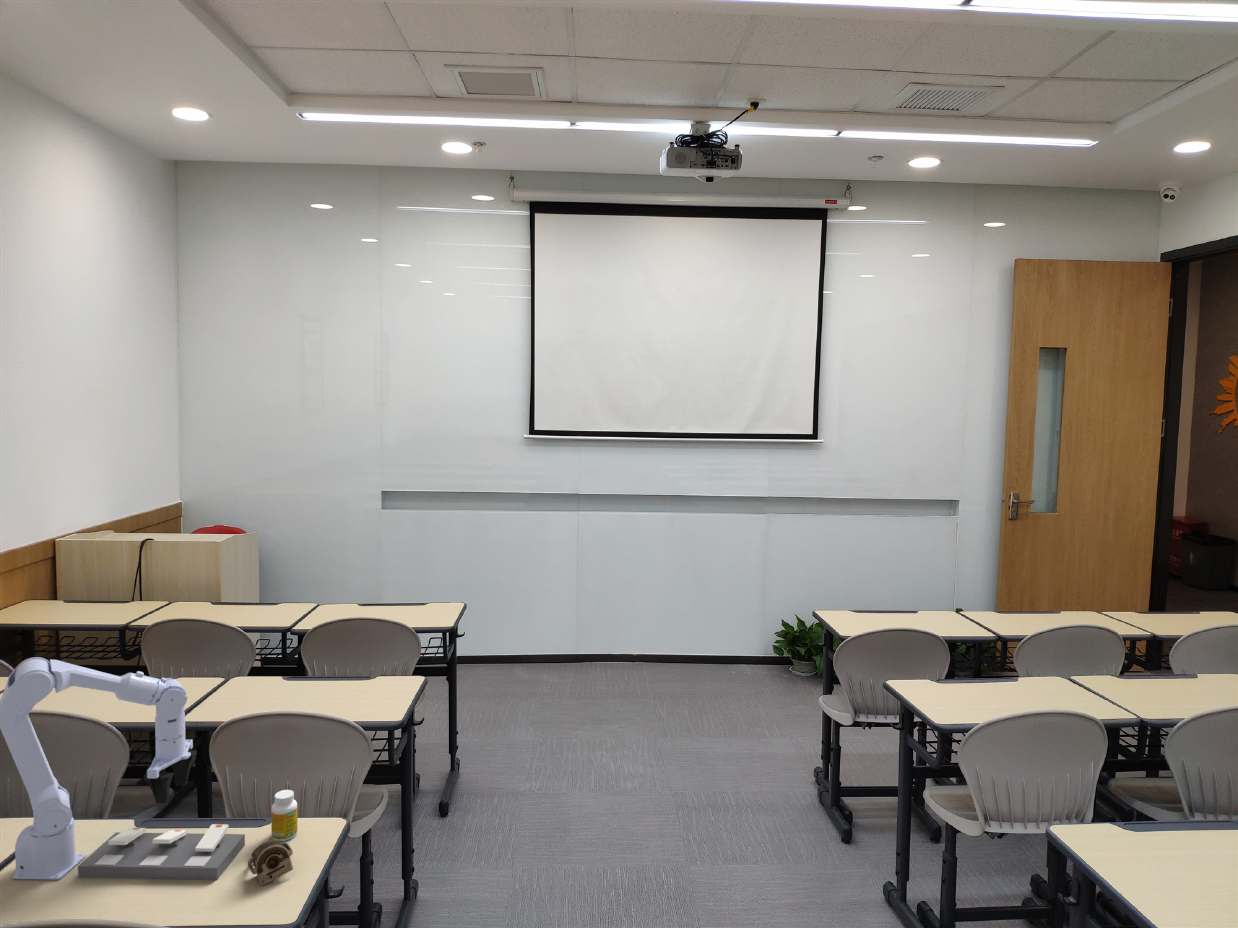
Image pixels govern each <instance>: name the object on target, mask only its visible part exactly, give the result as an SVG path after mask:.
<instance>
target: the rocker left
mask: <svg viewBox="0 0 1238 928" xmlns="http://www.w3.org/2000/svg"><path fill="white" fill-rule="evenodd" d="M146 829H147V828H146V827H128V828H127V829H124V831H121V833H120V834H118V835H117V836H115V837H114V838H112V839H111V840H109V841H108V845H126V844H128V843H129V842H131V841H132V840H135V838H137V837H138V836H140V835H141V834H143V833H147V832H146Z"/></svg>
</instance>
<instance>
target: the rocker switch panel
mask: <svg viewBox="0 0 1238 928" xmlns="http://www.w3.org/2000/svg"><path fill="white" fill-rule="evenodd" d="M120 833H122V831H121V832H114V833H113V834H112V835H111V836H110V837H109V838H108V839H106V841H105V842H103V843H102V844H101V845H100V846H99V847H97V848H96V849H95V850H94V851H93V852H92V853H91V854H89V856H88V857H85V858H84V860H83V861H81V863H80V864H79V865H78V866H77V875H78V877H77V878H78V879H79V878H80V879H141V880H142V879H143V880H144V879H145V880H146V879H148V880H150V879H151V880H217V881H218V880H219V879H220V877H221V876H222V874H223V873H224V872H225V871H226V869H227V868H228V867H229V866H230V865H231V863H232V862H233V861H234V859H236V857H237V856H238V854H239V853H240V852H241V851H242V849H243V848H244V847H245V845H246V834H244V833H242V834H241V833H239V834H238V833H236V834H235V833H225V834H224V836H223V837H222V839H221V840H220V842H219V843H218V845H217V846H216V848H215V849H214V851H213V852H202V851H195V848H196V846H197V845H198V843H199V842H200V840H201V839H202V838H203V836H204V835H205V833H188V832H187V835H185V836H183V837H181V838H179V839H178V840H177V841H173V842H172V843H170V844H160V843H152V840H153V839H154V838H156V837H158V836H160V835H162V834H164V833H165V832H144V833H143V834H141V835H140V836H138V837H137V838H135V840H132V841H131V842H129V843H128V844H126V845H108V841H109V840H111V839H112V838H114V837H115V836H117V835H118V834H120Z"/></svg>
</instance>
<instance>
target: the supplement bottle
mask: <svg viewBox="0 0 1238 928" xmlns="http://www.w3.org/2000/svg"><path fill="white" fill-rule="evenodd" d="M270 810H271V816H270V817H271V823H270V824H271V827H270V828H271V829H270V831H271V839H272V841H278V842H285V841H289V840H292V839H293V838H294V837H296V836H297V834H298V803H297V800H296V799H295V793H294V790H291V789H282V790H279V791H278V792H276V793H275V795H274V803H272V805H271V809H270Z"/></svg>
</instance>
